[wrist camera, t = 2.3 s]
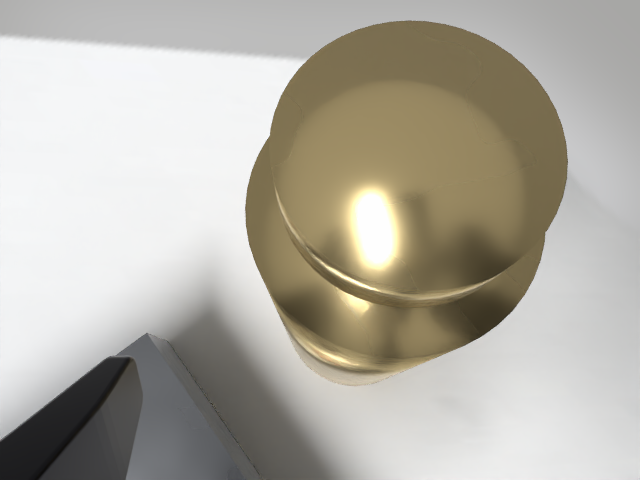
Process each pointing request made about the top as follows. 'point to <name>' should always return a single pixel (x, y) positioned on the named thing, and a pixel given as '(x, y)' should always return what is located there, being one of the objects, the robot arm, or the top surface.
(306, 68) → the weight
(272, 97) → the top surface
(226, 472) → the scale
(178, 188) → the top surface
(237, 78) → the top surface
